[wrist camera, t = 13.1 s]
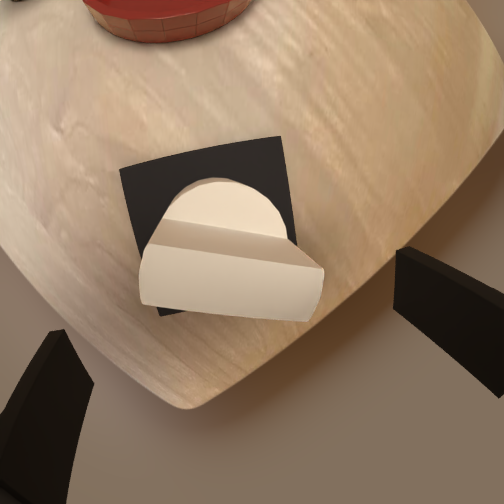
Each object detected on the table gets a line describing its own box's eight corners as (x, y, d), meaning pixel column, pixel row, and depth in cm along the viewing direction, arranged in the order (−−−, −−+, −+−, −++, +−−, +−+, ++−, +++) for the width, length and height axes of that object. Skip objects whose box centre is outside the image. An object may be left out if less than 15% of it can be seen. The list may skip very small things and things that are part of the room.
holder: (160, 313, 27) (159, 317, 26) (121, 169, 22) (118, 169, 21) (299, 280, 29) (301, 283, 28) (278, 136, 24) (281, 135, 23)
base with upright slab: (277, 188, 25) (344, 211, 13) (255, 284, 27) (296, 365, 16) (172, 169, 22) (151, 173, 11) (157, 271, 25) (135, 353, 13)
